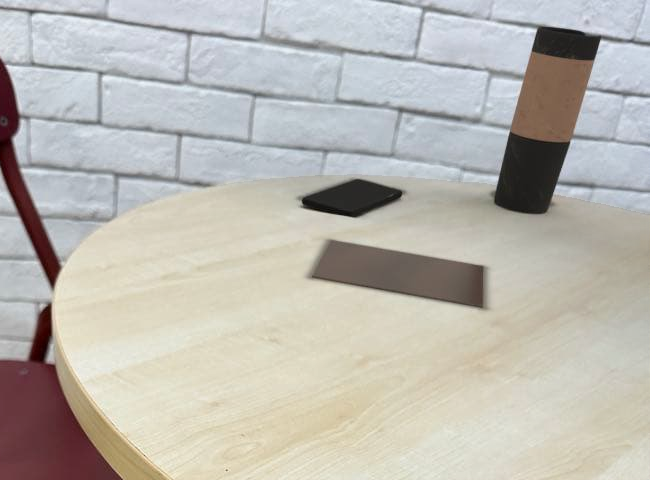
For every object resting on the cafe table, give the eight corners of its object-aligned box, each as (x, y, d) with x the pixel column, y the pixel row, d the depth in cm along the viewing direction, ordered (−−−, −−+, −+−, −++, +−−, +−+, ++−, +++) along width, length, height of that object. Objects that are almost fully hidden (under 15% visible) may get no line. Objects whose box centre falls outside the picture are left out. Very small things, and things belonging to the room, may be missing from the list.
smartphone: (404, 191, 109) (350, 212, 98) (403, 197, 109) (349, 219, 99) (357, 178, 111) (300, 197, 101) (356, 184, 112) (298, 204, 101)
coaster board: (481, 275, 87) (483, 265, 87) (480, 316, 78) (483, 306, 77) (329, 249, 89) (330, 239, 89) (310, 286, 80) (311, 275, 79)
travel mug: (487, 206, 110) (533, 28, 98) (495, 194, 116) (540, 24, 104) (546, 218, 108) (601, 38, 96) (552, 205, 114) (603, 33, 102)
